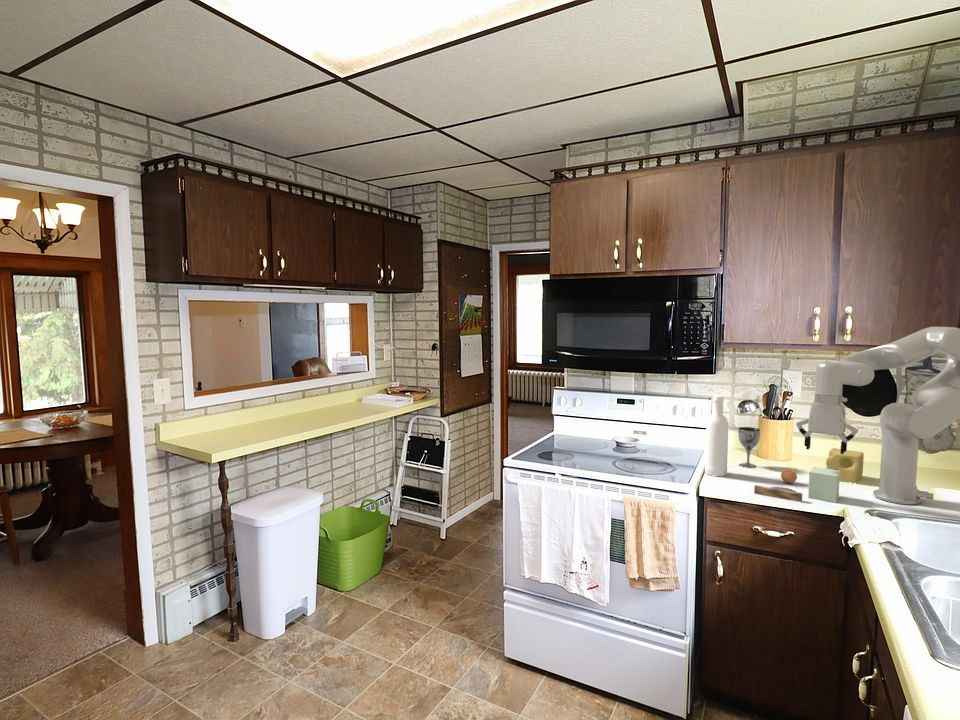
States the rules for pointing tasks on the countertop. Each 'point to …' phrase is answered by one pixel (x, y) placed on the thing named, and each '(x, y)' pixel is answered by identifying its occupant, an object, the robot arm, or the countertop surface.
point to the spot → (783, 488)
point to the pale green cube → (824, 484)
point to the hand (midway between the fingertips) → (824, 451)
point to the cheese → (846, 464)
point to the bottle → (716, 440)
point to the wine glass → (748, 442)
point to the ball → (788, 476)
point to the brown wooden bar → (778, 493)
